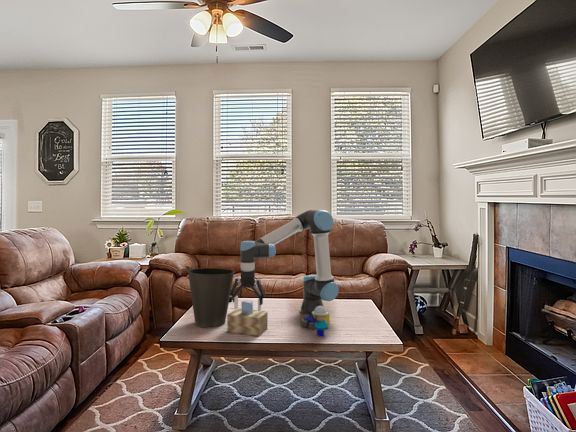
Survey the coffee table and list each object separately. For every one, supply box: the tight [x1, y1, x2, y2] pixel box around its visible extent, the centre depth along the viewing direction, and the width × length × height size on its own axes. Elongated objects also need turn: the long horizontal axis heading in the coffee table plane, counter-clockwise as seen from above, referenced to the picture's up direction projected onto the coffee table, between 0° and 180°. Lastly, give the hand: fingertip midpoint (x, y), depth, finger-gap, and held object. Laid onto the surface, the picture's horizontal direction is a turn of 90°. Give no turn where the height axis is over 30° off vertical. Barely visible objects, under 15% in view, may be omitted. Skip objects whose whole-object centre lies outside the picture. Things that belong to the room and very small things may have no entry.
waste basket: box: [187, 267, 235, 329], centre depth 207 cm, size 27×20×30 cm
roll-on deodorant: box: [241, 300, 254, 315], centre depth 195 cm, size 6×6×6 cm
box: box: [226, 313, 269, 338], centre depth 195 cm, size 18×12×9 cm, turn 72°
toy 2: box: [312, 306, 330, 337], centre depth 190 cm, size 8×9×15 cm
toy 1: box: [301, 310, 331, 330], centre depth 205 cm, size 14×7×15 cm
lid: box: [226, 307, 268, 319], centre depth 195 cm, size 18×12×1 cm, turn 72°
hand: (247, 309), depth 195 cm, fingers open, 13 cm apart
